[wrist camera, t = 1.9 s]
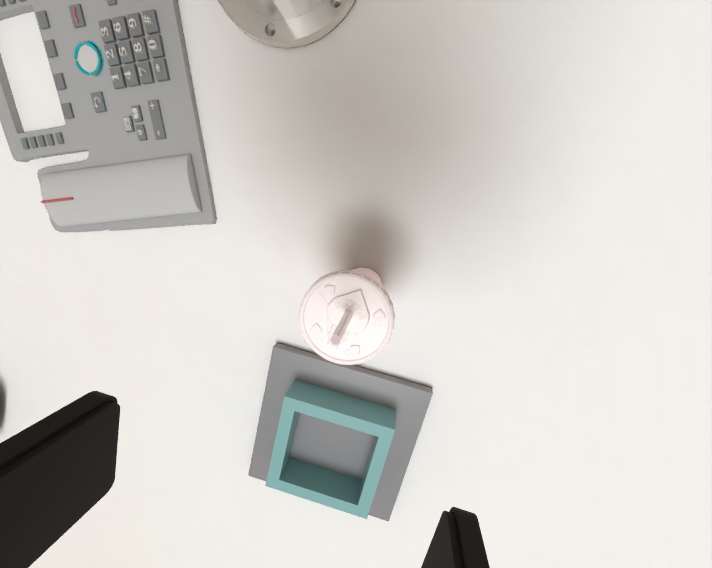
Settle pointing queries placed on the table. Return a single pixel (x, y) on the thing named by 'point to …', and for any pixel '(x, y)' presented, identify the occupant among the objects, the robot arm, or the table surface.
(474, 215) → the table surface
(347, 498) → the mount
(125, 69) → the office telephone
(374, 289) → the smoothie
